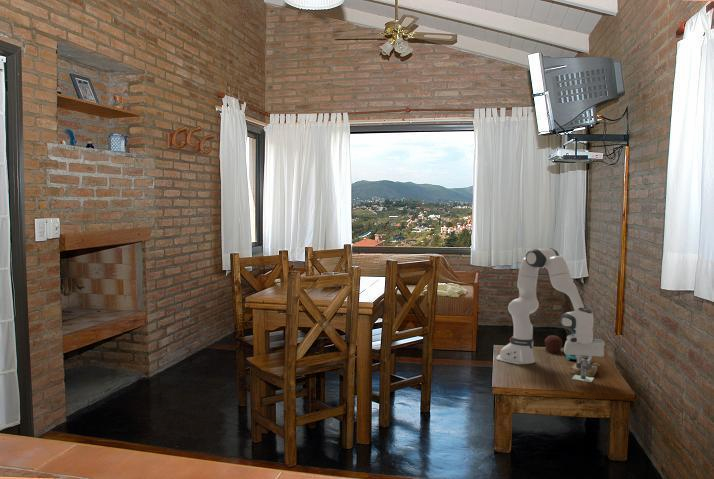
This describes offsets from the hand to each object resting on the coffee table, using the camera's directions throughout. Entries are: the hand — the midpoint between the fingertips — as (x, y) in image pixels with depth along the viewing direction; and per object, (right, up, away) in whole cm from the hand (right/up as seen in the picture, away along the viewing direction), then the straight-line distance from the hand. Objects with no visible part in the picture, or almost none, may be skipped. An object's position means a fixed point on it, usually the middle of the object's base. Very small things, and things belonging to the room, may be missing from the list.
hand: (583, 363), depth 307 cm
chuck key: (0, -8, +1) cm, 8 cm away
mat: (0, -9, +1) cm, 9 cm away
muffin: (+4, -5, +59) cm, 59 cm away
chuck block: (+6, -8, +12) cm, 16 cm away
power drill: (+10, -6, +38) cm, 40 cm away
